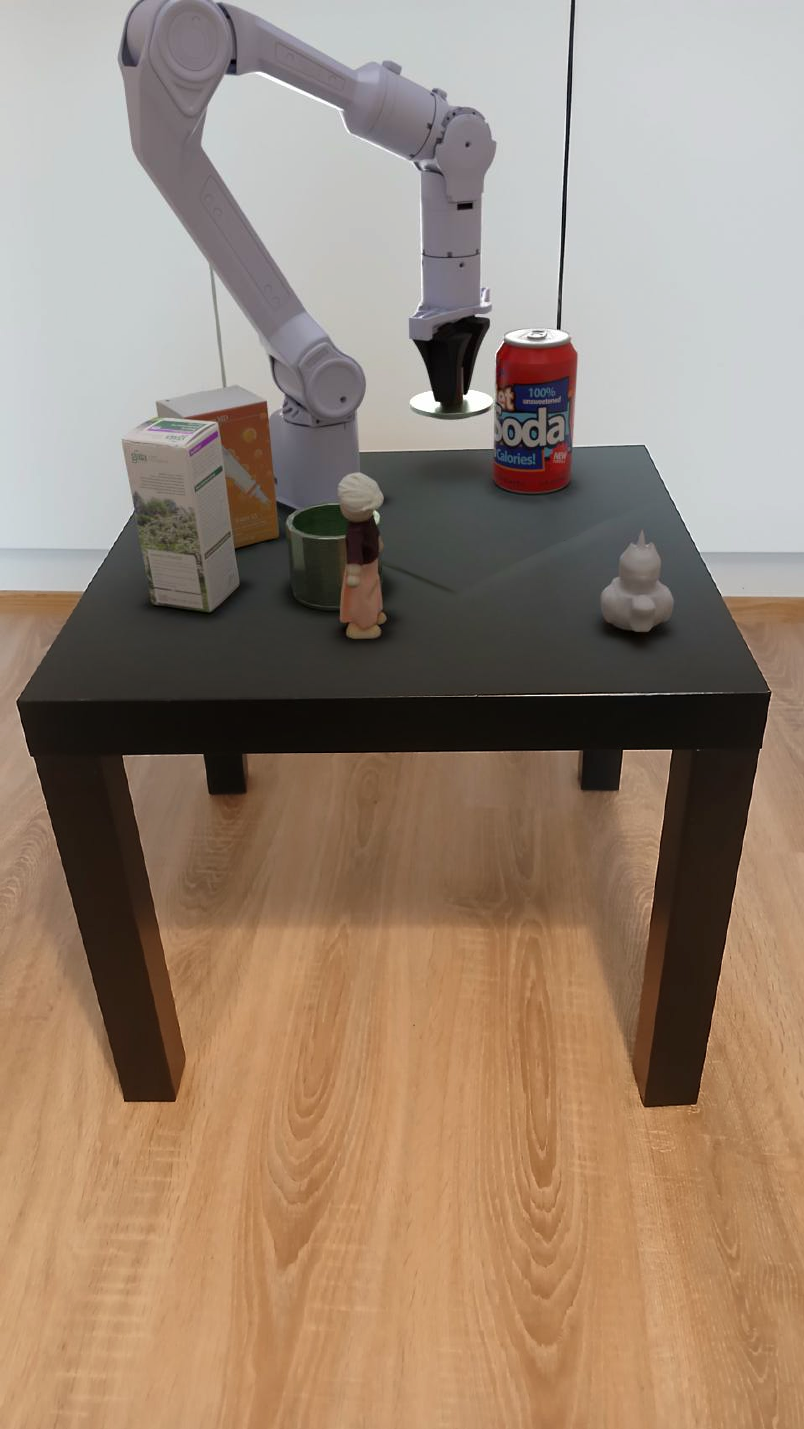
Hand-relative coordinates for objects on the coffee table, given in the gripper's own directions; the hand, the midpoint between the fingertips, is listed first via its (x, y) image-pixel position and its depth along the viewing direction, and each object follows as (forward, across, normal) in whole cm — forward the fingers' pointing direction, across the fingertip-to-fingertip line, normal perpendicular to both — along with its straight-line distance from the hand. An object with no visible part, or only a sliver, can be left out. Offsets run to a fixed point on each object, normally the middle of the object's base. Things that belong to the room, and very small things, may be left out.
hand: (451, 397), depth 106 cm
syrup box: (+9, -34, +8) cm, 36 cm away
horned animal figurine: (+8, -25, -27) cm, 37 cm away
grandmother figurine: (+9, -33, -8) cm, 35 cm away
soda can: (+8, +1, -9) cm, 12 cm away
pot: (+8, -28, -2) cm, 29 cm away
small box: (+9, -22, +13) cm, 27 cm away
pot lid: (+1, 0, 0) cm, 1 cm away
